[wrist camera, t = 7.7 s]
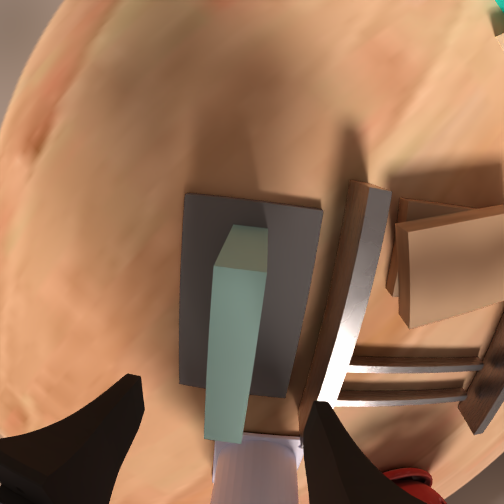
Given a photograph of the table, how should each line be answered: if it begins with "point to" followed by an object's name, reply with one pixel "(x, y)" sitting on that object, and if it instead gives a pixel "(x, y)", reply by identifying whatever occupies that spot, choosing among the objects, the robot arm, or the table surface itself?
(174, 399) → the table surface
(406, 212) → the offcut lower
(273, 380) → the mat
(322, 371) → the rack
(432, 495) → the plant pot
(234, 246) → the teal board
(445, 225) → the offcut upper
